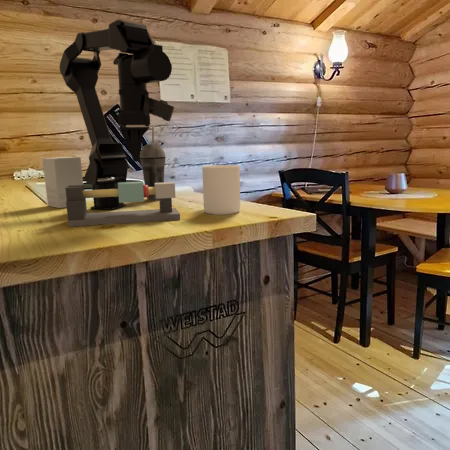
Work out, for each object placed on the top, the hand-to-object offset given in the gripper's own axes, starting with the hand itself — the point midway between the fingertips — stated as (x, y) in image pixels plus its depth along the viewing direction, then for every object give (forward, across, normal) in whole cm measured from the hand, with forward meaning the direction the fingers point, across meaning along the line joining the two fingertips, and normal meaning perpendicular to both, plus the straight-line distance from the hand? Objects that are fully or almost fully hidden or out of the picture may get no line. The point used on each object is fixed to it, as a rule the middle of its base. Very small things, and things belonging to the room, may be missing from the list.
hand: (136, 160), depth 92 cm
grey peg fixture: (+12, -6, +3) cm, 14 cm away
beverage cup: (+13, +24, -4) cm, 27 cm away
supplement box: (+13, +21, +19) cm, 31 cm away
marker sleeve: (+8, -6, +1) cm, 10 cm away
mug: (+12, -1, -18) cm, 22 cm away
